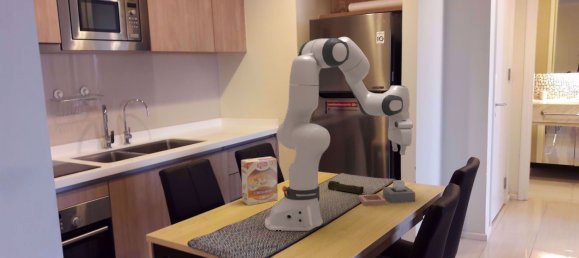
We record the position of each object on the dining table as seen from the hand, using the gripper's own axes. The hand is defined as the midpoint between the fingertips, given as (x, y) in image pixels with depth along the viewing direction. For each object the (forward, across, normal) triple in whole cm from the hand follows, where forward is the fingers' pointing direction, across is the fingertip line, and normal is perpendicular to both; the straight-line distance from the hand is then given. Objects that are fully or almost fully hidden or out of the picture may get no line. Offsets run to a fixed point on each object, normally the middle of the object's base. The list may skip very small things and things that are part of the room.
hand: (398, 152), depth 195 cm
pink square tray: (+21, +3, -13) cm, 25 cm away
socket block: (+21, 0, 0) cm, 21 cm away
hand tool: (+21, -16, -21) cm, 34 cm away
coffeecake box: (+21, -8, -62) cm, 66 cm away
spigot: (+21, 0, 0) cm, 21 cm away
